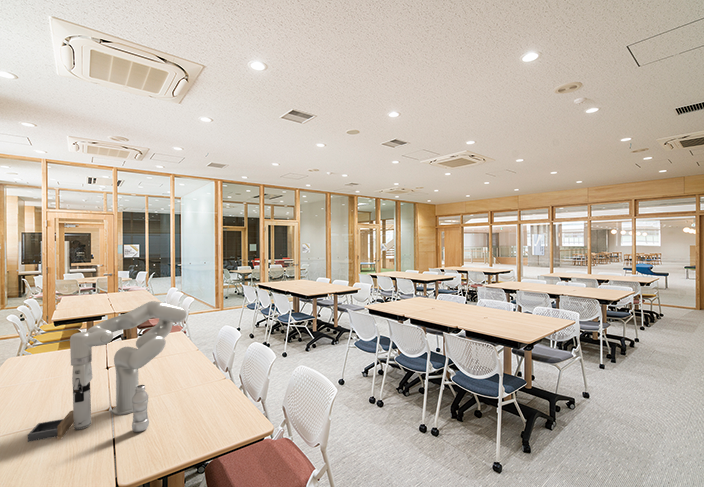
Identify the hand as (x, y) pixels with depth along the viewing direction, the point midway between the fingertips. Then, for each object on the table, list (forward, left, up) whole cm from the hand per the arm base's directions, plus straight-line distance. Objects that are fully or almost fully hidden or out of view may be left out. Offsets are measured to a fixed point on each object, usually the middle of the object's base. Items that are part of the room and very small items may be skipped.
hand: (82, 397), depth 151 cm
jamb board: (+6, +1, -14) cm, 15 cm away
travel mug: (0, 0, -13) cm, 13 cm away
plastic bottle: (-25, +13, -14) cm, 32 cm away
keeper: (+12, 0, -14) cm, 18 cm away
